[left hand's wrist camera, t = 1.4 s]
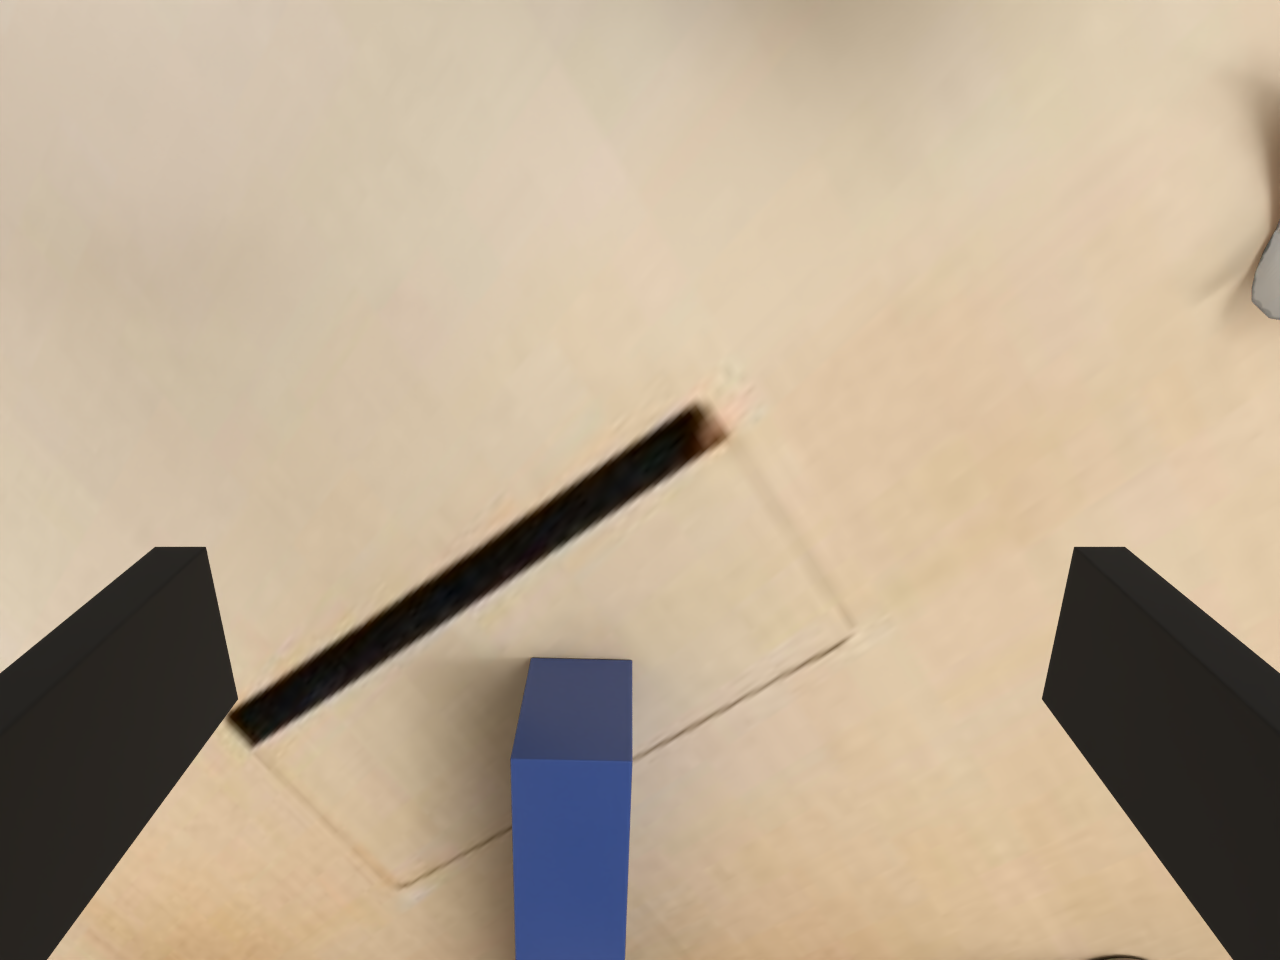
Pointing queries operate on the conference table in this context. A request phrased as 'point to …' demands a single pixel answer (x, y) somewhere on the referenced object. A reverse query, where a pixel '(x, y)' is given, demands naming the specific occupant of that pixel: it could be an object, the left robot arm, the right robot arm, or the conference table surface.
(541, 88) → the conference table surface
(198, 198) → the conference table surface
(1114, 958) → the right robot arm
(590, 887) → the bar
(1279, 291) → the fish
